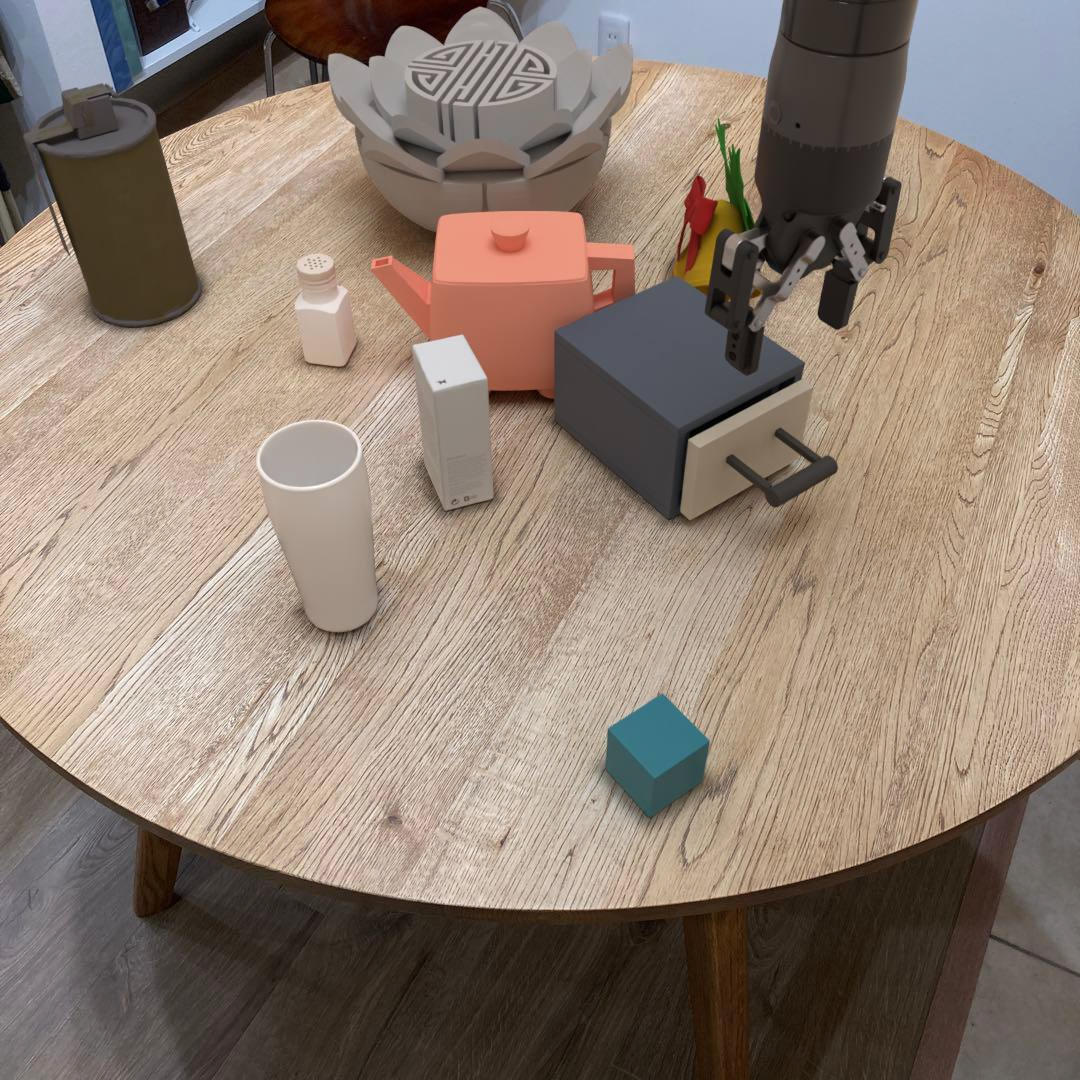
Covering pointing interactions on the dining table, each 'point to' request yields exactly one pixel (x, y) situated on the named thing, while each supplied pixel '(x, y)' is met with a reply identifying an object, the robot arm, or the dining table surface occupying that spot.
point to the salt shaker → (323, 313)
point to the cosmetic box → (454, 421)
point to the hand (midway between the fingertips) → (787, 345)
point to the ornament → (712, 222)
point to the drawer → (751, 451)
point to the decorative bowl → (482, 117)
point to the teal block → (656, 754)
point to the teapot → (510, 288)
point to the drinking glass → (322, 519)
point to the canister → (116, 205)
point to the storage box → (653, 383)
